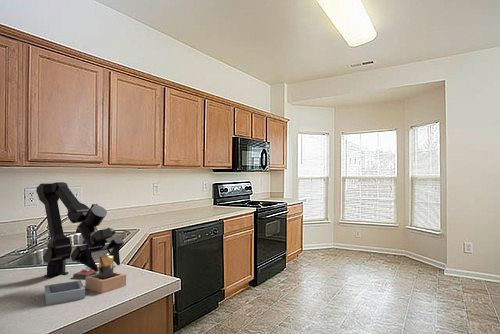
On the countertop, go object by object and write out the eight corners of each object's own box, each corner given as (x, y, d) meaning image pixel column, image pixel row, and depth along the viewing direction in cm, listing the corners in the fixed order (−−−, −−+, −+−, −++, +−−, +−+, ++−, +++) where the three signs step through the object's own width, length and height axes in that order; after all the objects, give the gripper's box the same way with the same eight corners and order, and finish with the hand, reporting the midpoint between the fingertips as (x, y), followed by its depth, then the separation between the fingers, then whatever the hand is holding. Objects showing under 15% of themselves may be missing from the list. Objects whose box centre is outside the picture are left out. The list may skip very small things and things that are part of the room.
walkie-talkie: (90, 283, 130) (117, 269, 150) (90, 272, 130) (117, 259, 150) (69, 282, 131) (99, 268, 151) (69, 271, 131) (99, 258, 151)
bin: (85, 290, 121) (85, 276, 121) (109, 283, 129) (109, 270, 129) (102, 296, 116) (102, 281, 116) (126, 288, 124) (126, 274, 124)
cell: (100, 284, 124) (101, 253, 125) (114, 284, 125) (114, 252, 126) (97, 289, 120) (97, 256, 120) (111, 288, 121) (111, 255, 121)
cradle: (44, 297, 114) (44, 285, 114) (80, 291, 120) (80, 280, 120) (46, 308, 105) (46, 295, 105) (85, 301, 111) (85, 288, 111)
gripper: (76, 223, 117) (94, 259, 111) (121, 217, 133) (139, 249, 127) (63, 243, 121) (80, 279, 115) (108, 235, 137) (125, 267, 131)
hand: (108, 267), depth 122 cm, fingers open, 9 cm apart
